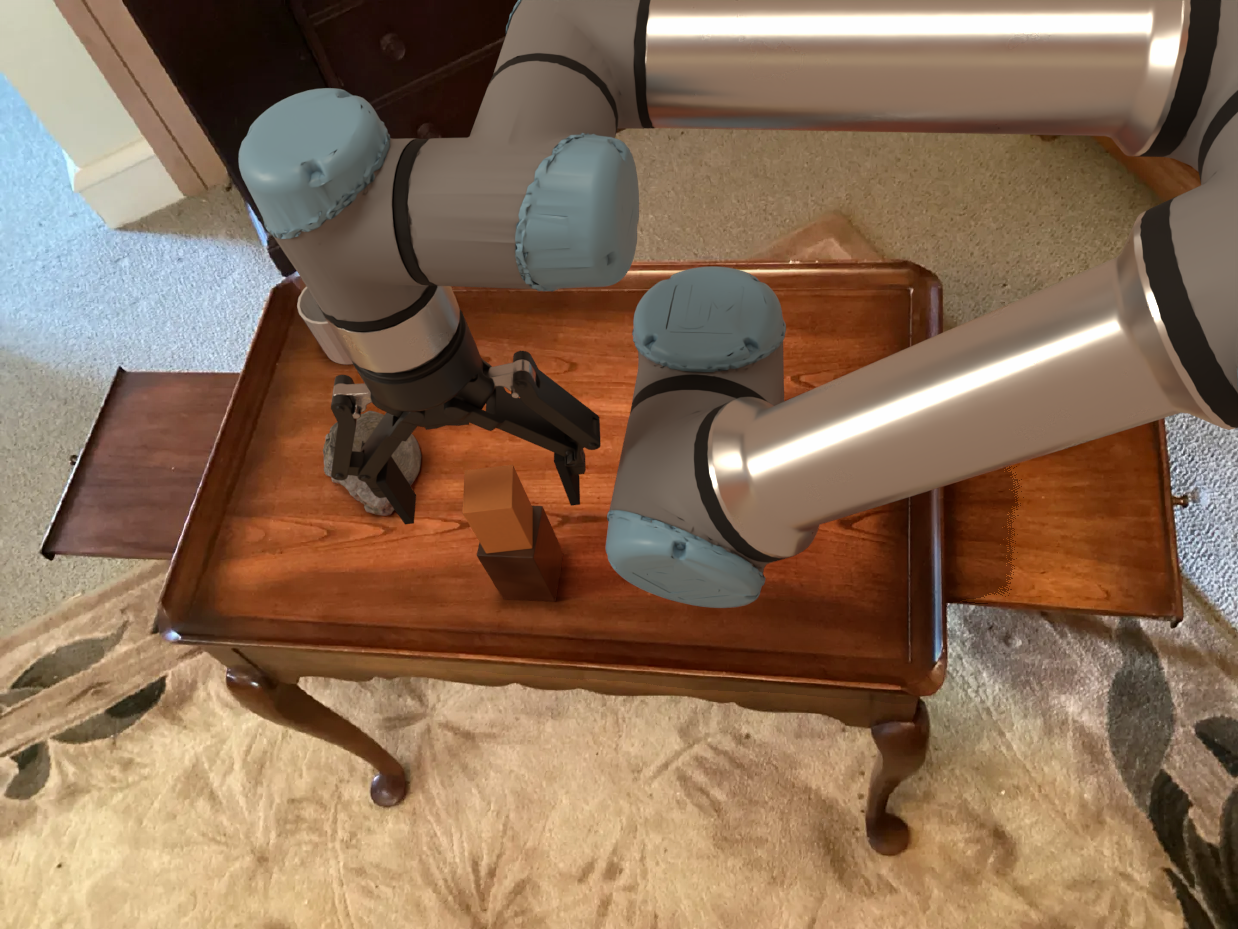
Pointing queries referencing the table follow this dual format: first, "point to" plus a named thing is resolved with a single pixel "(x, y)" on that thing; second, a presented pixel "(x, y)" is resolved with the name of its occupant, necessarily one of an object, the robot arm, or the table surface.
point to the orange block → (498, 509)
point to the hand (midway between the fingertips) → (492, 500)
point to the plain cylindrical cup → (321, 328)
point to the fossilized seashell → (404, 455)
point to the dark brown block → (527, 565)
